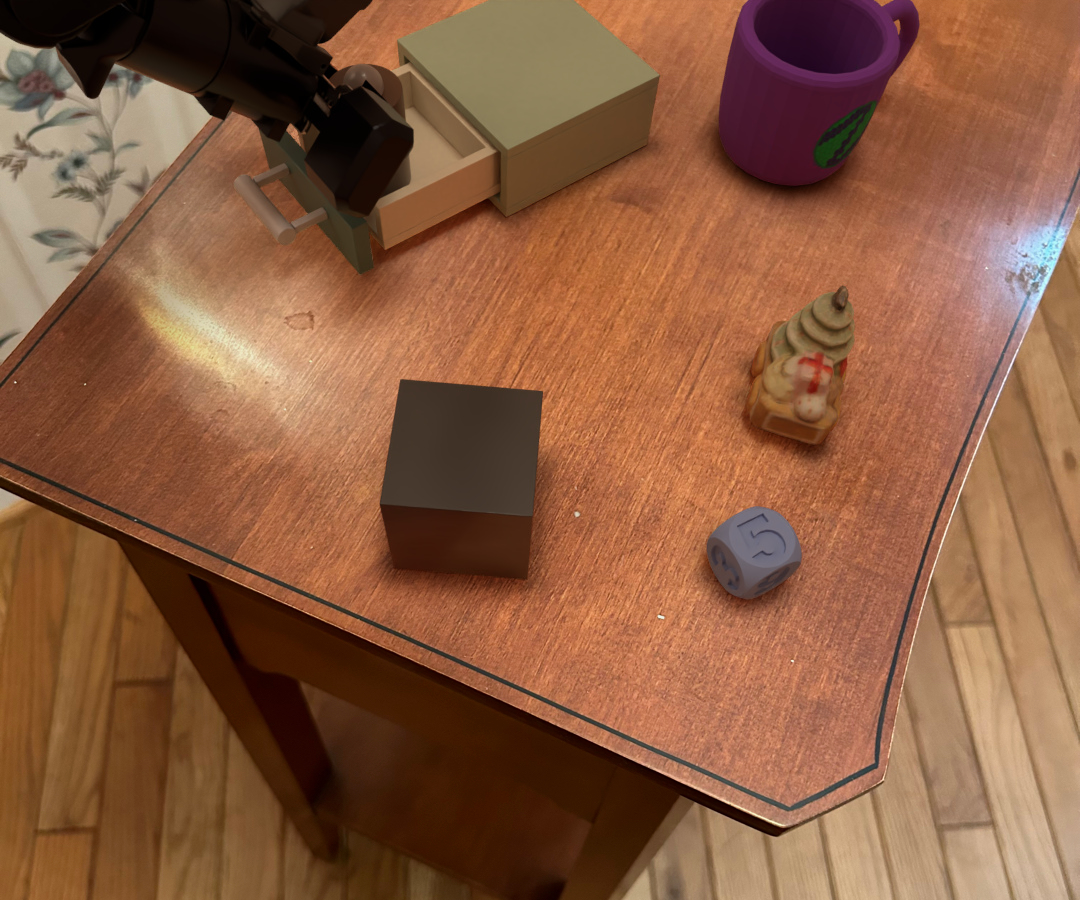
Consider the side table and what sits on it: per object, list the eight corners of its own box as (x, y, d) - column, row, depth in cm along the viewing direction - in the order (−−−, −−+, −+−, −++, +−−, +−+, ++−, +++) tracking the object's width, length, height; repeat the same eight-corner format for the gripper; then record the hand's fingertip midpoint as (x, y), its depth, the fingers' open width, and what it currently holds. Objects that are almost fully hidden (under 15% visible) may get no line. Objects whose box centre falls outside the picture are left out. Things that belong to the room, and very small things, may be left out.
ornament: (833, 459, 61) (893, 363, 52) (739, 443, 61) (782, 345, 52) (837, 361, 64) (893, 256, 56) (748, 346, 65) (789, 240, 56)
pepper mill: (353, 210, 66) (335, 102, 58) (331, 162, 68) (311, 52, 60) (420, 191, 67) (411, 84, 59) (397, 145, 69) (385, 35, 61)
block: (393, 568, 56) (379, 504, 49) (411, 454, 60) (400, 378, 52) (527, 580, 56) (533, 516, 49) (537, 465, 60) (543, 390, 52)
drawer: (310, 301, 64) (299, 255, 60) (220, 190, 68) (204, 140, 64) (506, 200, 69) (507, 152, 65) (412, 103, 73) (407, 52, 69)
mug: (773, 220, 70) (814, 104, 61) (679, 128, 74) (704, 7, 65) (937, 135, 75) (997, 16, 66) (840, 54, 79) (885, -69, 70)
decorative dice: (753, 527, 58) (771, 496, 55) (790, 580, 57) (811, 551, 53) (699, 554, 57) (713, 523, 54) (736, 608, 56) (752, 580, 52)
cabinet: (506, 217, 69) (507, 149, 64) (403, 111, 74) (396, 39, 68) (647, 144, 73) (660, 74, 68) (542, 47, 78) (546, -25, 72)
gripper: (364, -9, 45) (538, 101, 58) (179, -191, 51) (374, -54, 64) (255, 188, 50) (439, 249, 63) (97, -1, 56) (295, 90, 69)
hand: (387, 127), depth 65 cm, fingers closed on pepper mill, 5 cm apart
